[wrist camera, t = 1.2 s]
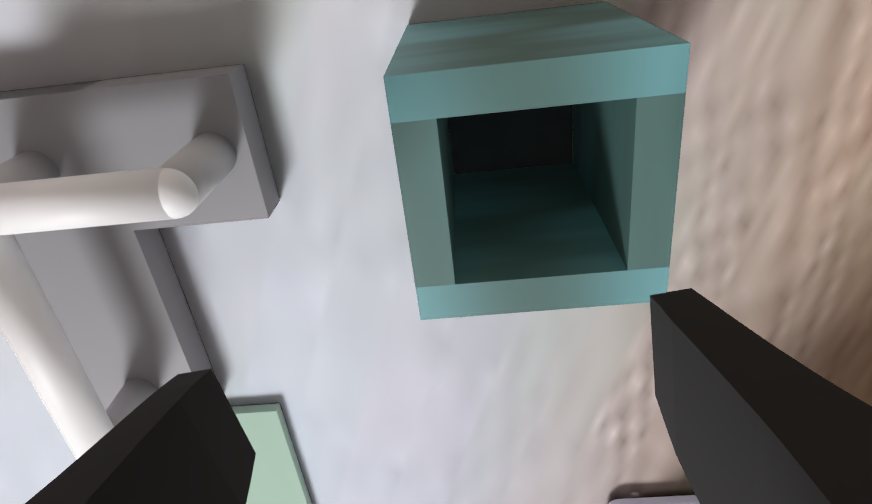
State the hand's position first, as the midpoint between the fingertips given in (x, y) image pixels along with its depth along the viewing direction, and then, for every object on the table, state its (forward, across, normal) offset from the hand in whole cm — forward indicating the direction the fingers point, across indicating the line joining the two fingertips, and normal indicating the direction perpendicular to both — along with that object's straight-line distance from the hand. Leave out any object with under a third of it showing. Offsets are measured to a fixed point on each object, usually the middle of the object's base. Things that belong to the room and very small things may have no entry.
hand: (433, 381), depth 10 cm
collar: (+9, -2, -2) cm, 9 cm away
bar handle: (+9, +9, +1) cm, 12 cm away
